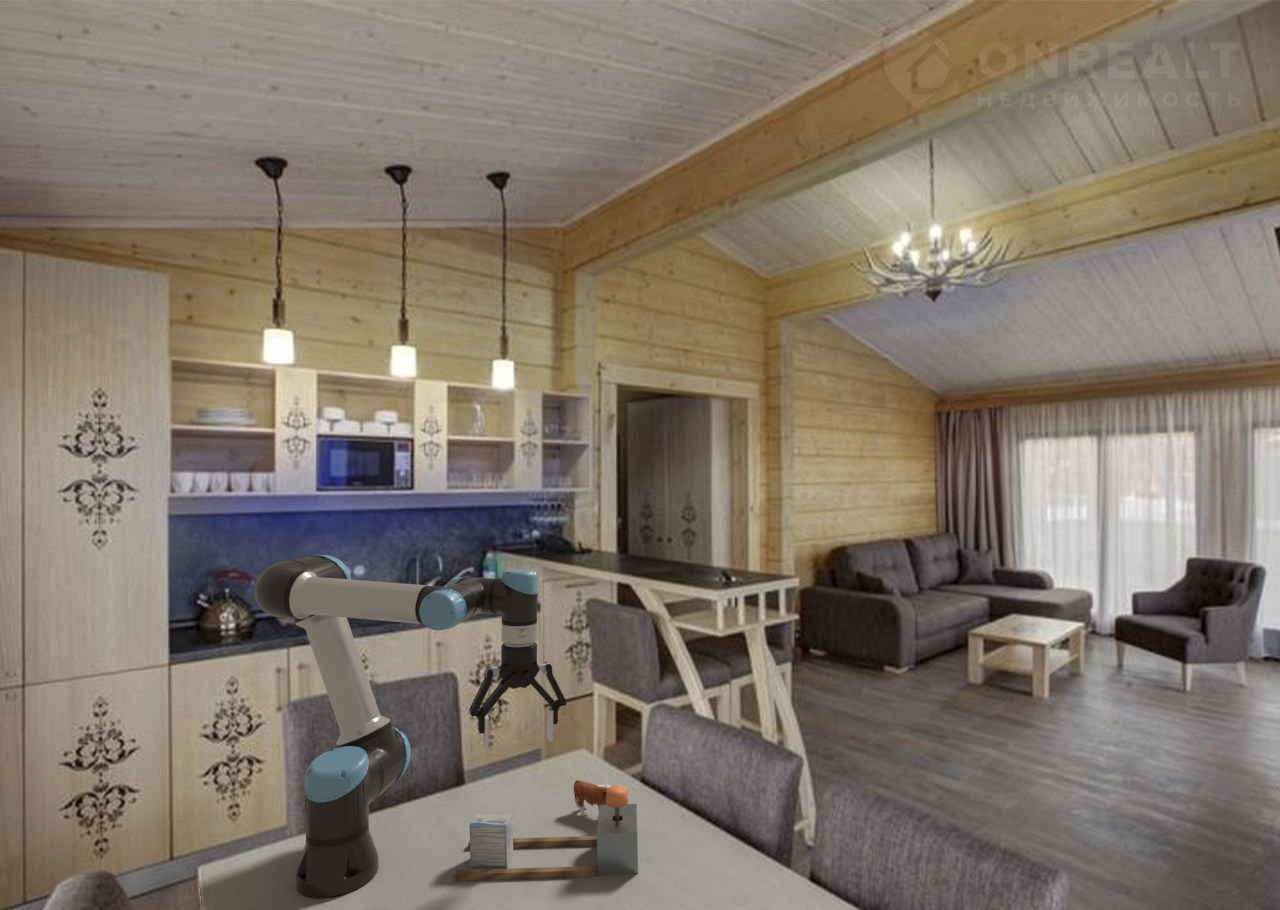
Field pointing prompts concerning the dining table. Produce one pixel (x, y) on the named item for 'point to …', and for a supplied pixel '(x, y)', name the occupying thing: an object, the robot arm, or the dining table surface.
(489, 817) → the medicine box
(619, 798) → the gauge button
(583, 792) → the bull figurine
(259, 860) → the dining table surface
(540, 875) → the track
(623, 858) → the end cabinet
